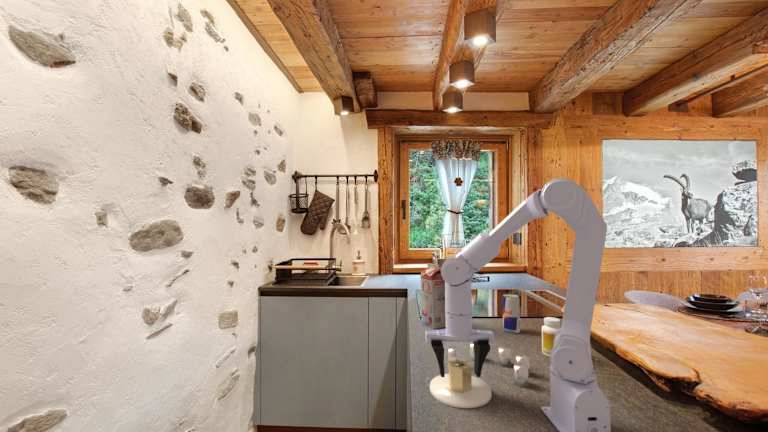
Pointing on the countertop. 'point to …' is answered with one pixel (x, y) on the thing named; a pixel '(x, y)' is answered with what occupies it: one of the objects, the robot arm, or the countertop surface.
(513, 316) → the energy drink
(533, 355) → the countertop surface
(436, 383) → the ceramic plate
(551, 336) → the supplement bottle
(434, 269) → the juice carton
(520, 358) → the spacer field
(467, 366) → the brass nut
